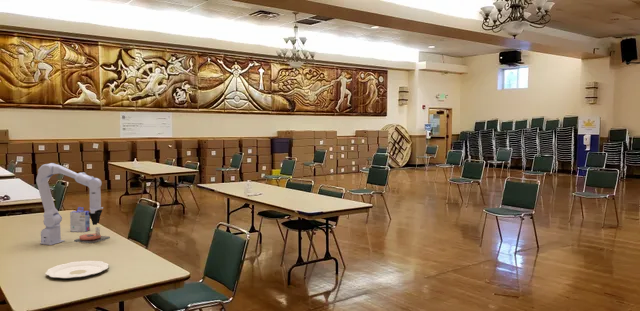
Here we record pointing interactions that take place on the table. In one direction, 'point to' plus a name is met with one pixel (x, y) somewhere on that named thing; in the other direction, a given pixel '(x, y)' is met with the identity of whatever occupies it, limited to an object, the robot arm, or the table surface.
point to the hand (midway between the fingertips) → (95, 223)
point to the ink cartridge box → (79, 220)
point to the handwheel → (91, 235)
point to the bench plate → (93, 240)
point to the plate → (65, 269)
